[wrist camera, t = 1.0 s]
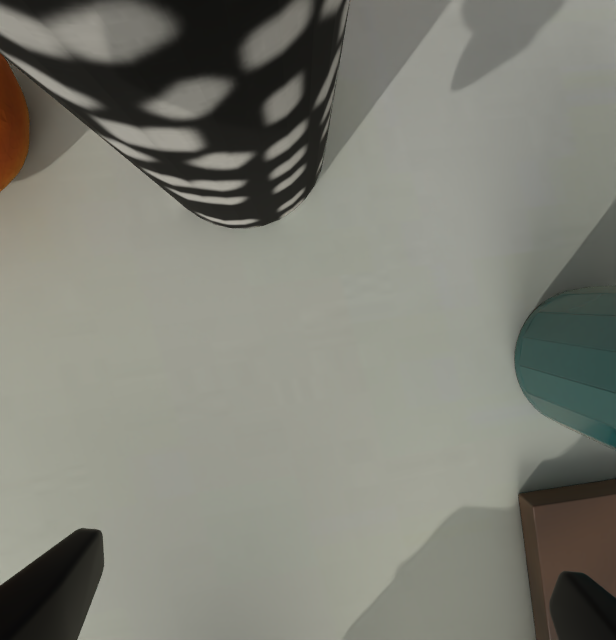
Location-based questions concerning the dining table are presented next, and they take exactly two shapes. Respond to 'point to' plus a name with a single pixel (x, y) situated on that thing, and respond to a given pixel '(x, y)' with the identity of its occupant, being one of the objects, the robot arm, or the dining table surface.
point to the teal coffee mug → (572, 361)
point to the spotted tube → (194, 90)
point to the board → (568, 541)
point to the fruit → (12, 125)
